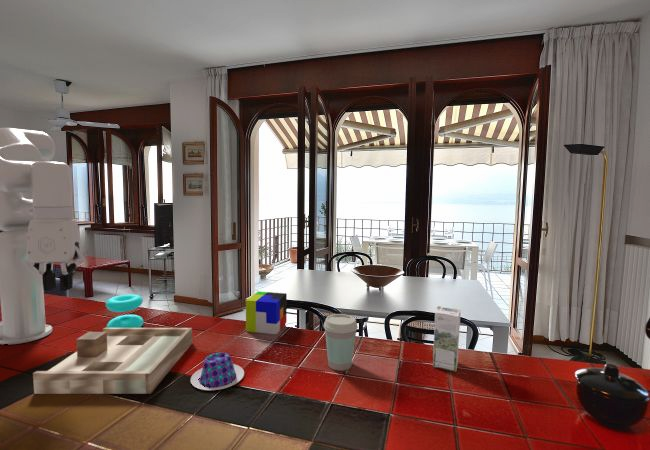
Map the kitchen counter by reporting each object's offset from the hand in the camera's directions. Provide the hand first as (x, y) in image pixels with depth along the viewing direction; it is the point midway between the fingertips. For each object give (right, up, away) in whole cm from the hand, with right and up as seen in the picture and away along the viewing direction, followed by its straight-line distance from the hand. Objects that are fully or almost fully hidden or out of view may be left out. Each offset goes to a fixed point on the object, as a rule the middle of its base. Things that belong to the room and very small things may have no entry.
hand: (58, 288), depth 84 cm
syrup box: (+96, -20, +4) cm, 98 cm away
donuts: (+2, -17, +25) cm, 30 cm away
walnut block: (+7, -16, +2) cm, 18 cm away
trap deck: (+15, -19, +2) cm, 24 cm away
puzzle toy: (+46, -18, +28) cm, 57 cm away
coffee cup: (+69, -20, +4) cm, 72 cm away
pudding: (+40, -21, -3) cm, 45 cm away
